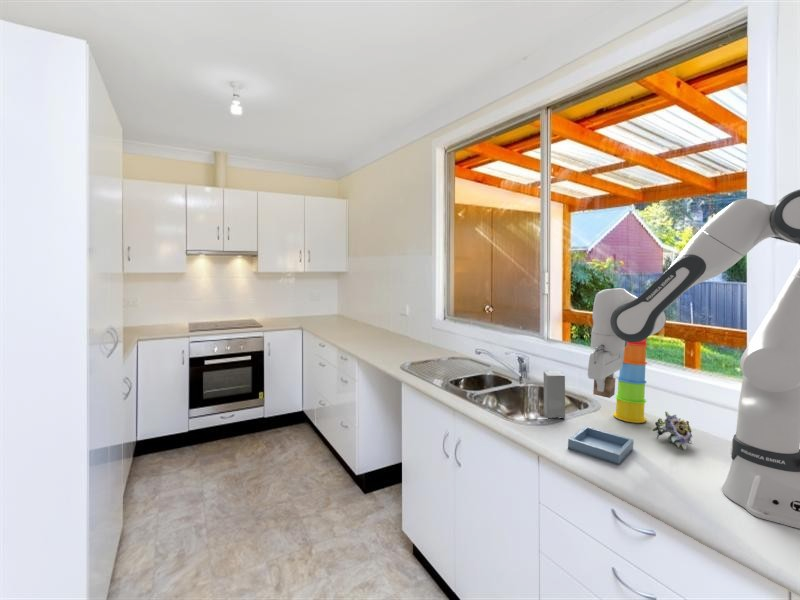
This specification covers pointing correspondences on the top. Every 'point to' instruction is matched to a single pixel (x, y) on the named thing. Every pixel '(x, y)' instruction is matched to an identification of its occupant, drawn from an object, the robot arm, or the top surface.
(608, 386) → the walnut block
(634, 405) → the stacking cups
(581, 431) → the sorting tray
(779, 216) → the robot arm
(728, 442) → the top surface
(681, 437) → the passion flower
